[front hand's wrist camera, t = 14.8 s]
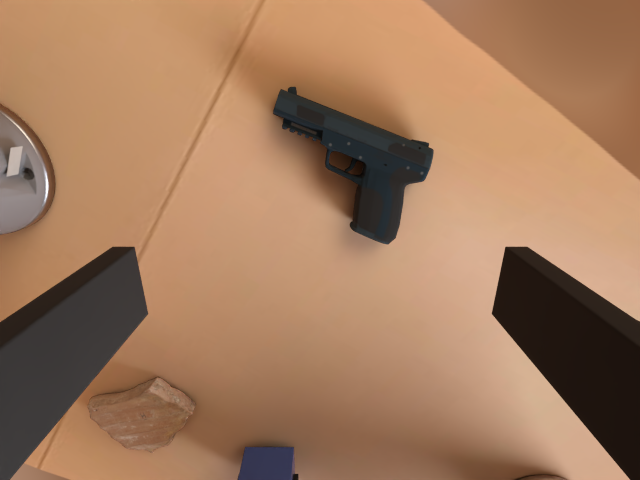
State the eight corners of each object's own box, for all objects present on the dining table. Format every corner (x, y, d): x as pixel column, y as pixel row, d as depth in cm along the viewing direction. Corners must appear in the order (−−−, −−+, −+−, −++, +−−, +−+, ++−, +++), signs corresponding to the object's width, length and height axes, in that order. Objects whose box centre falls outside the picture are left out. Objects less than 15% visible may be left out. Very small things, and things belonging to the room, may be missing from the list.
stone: (144, 447, 55) (137, 462, 53) (90, 397, 52) (79, 411, 49) (209, 414, 53) (204, 428, 50) (158, 359, 49) (149, 372, 47)
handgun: (252, 188, 41) (285, 83, 37) (389, 238, 43) (434, 143, 39) (246, 195, 38) (281, 81, 34) (394, 248, 40) (443, 146, 36)
